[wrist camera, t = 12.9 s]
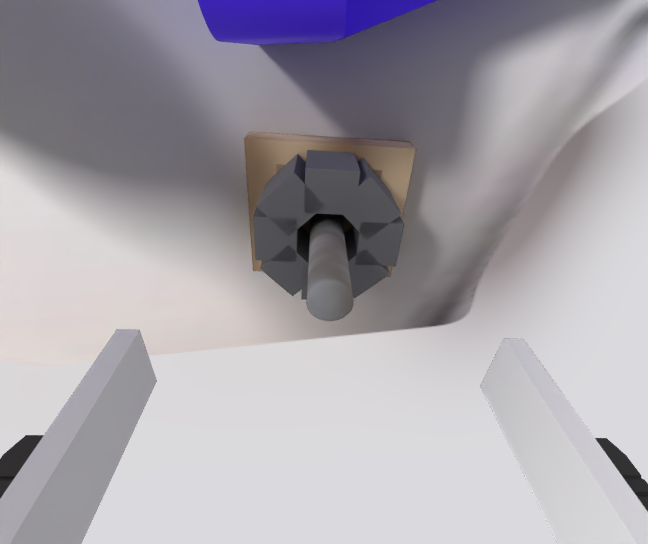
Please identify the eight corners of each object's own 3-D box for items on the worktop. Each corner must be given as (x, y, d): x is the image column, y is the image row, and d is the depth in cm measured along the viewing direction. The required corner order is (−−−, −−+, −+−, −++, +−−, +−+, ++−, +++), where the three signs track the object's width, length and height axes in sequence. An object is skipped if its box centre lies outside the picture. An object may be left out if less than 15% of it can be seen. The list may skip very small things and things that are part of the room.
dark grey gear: (260, 147, 21) (249, 164, 18) (399, 155, 22) (414, 174, 18) (265, 266, 26) (257, 297, 23) (379, 271, 27) (387, 302, 23)
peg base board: (257, 257, 28) (223, 371, 18) (249, 132, 23) (196, 195, 13) (386, 263, 29) (421, 377, 19) (409, 141, 23) (476, 209, 13)
